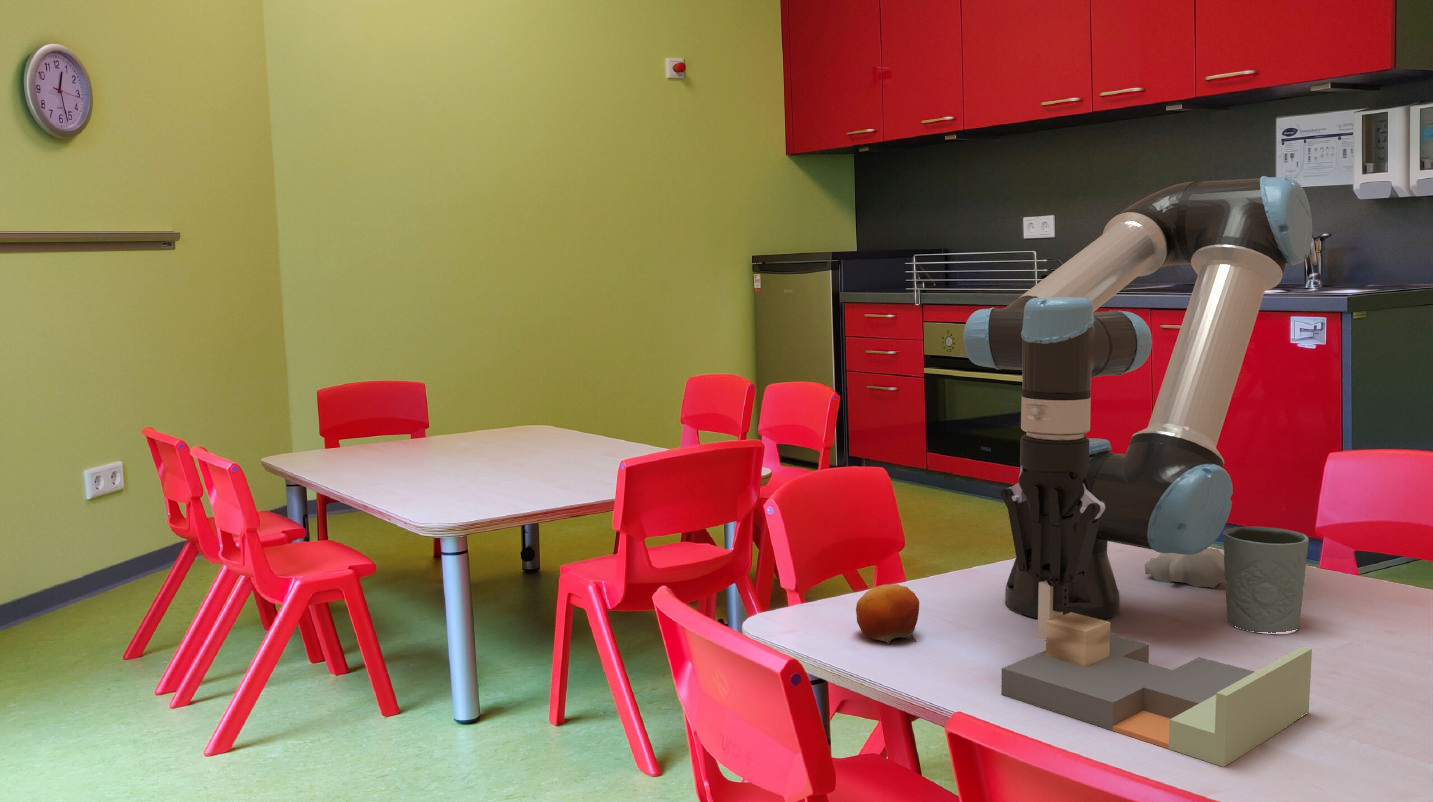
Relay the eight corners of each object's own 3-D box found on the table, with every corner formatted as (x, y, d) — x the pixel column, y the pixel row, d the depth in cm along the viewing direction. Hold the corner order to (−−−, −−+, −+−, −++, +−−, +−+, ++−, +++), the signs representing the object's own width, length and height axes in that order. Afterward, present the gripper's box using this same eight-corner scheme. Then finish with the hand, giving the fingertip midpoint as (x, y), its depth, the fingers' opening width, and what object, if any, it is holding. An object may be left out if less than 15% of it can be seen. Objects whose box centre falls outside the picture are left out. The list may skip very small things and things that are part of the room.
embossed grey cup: (1265, 640, 144) (1269, 547, 142) (1201, 618, 153) (1205, 530, 151) (1322, 629, 148) (1327, 538, 146) (1257, 608, 157) (1261, 522, 155)
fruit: (889, 643, 140) (870, 581, 143) (858, 659, 147) (840, 599, 150) (942, 633, 144) (922, 572, 147) (909, 649, 150) (890, 590, 153)
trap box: (1001, 694, 127) (1002, 633, 127) (1094, 654, 140) (1095, 598, 139) (1223, 766, 109) (1226, 695, 108) (1308, 713, 121) (1311, 648, 120)
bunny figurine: (1155, 543, 177) (1261, 545, 168) (1158, 576, 177) (1264, 579, 168) (1138, 557, 169) (1248, 559, 160) (1141, 591, 169) (1251, 595, 161)
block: (1045, 655, 131) (1046, 621, 130) (1070, 645, 134) (1071, 612, 134) (1085, 666, 127) (1086, 631, 127) (1109, 656, 130) (1110, 621, 130)
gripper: (987, 431, 133) (983, 629, 135) (1087, 444, 123) (1081, 657, 126) (1025, 425, 137) (1021, 616, 140) (1125, 437, 127) (1118, 642, 130)
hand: (1049, 636), depth 133 cm, fingers closed
